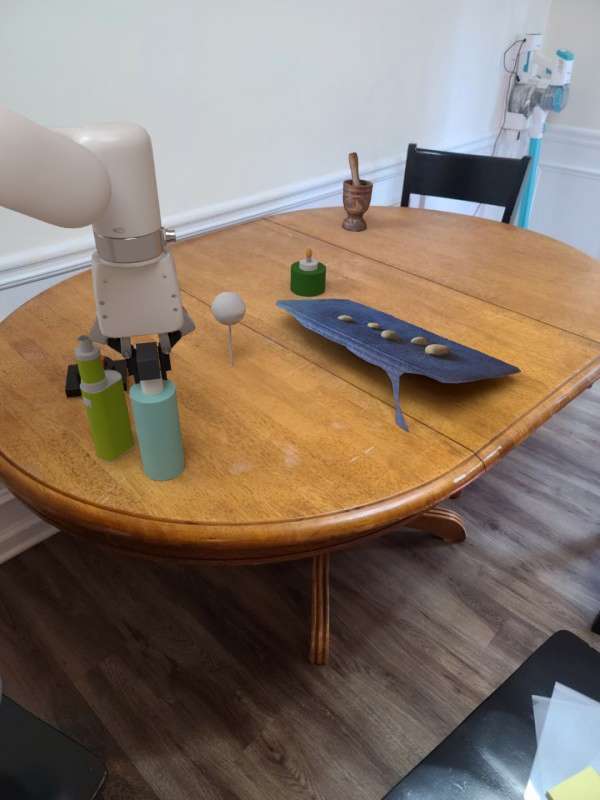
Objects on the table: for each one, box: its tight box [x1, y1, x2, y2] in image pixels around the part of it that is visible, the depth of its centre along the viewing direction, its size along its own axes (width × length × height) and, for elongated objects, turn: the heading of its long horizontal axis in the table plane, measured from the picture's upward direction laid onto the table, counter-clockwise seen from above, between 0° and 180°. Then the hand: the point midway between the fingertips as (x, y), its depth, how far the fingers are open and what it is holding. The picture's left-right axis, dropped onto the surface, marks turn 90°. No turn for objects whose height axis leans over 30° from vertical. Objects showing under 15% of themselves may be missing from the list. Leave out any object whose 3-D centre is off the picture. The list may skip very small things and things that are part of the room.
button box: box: [64, 355, 128, 399], centre depth 100 cm, size 10×8×4 cm
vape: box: [73, 334, 135, 463], centre depth 80 cm, size 4×6×20 cm, turn 147°
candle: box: [289, 248, 327, 298], centre depth 131 cm, size 8×8×10 cm
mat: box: [275, 297, 522, 434], centre depth 109 cm, size 45×27×12 cm, turn 42°
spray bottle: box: [128, 341, 186, 482], centre depth 77 cm, size 6×6×20 cm
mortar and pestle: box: [341, 151, 374, 233], centre depth 166 cm, size 12×9×20 cm
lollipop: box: [210, 290, 247, 368], centre depth 101 cm, size 6×6×15 cm
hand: (150, 375), depth 75 cm, fingers closed on spray bottle, 2 cm apart
